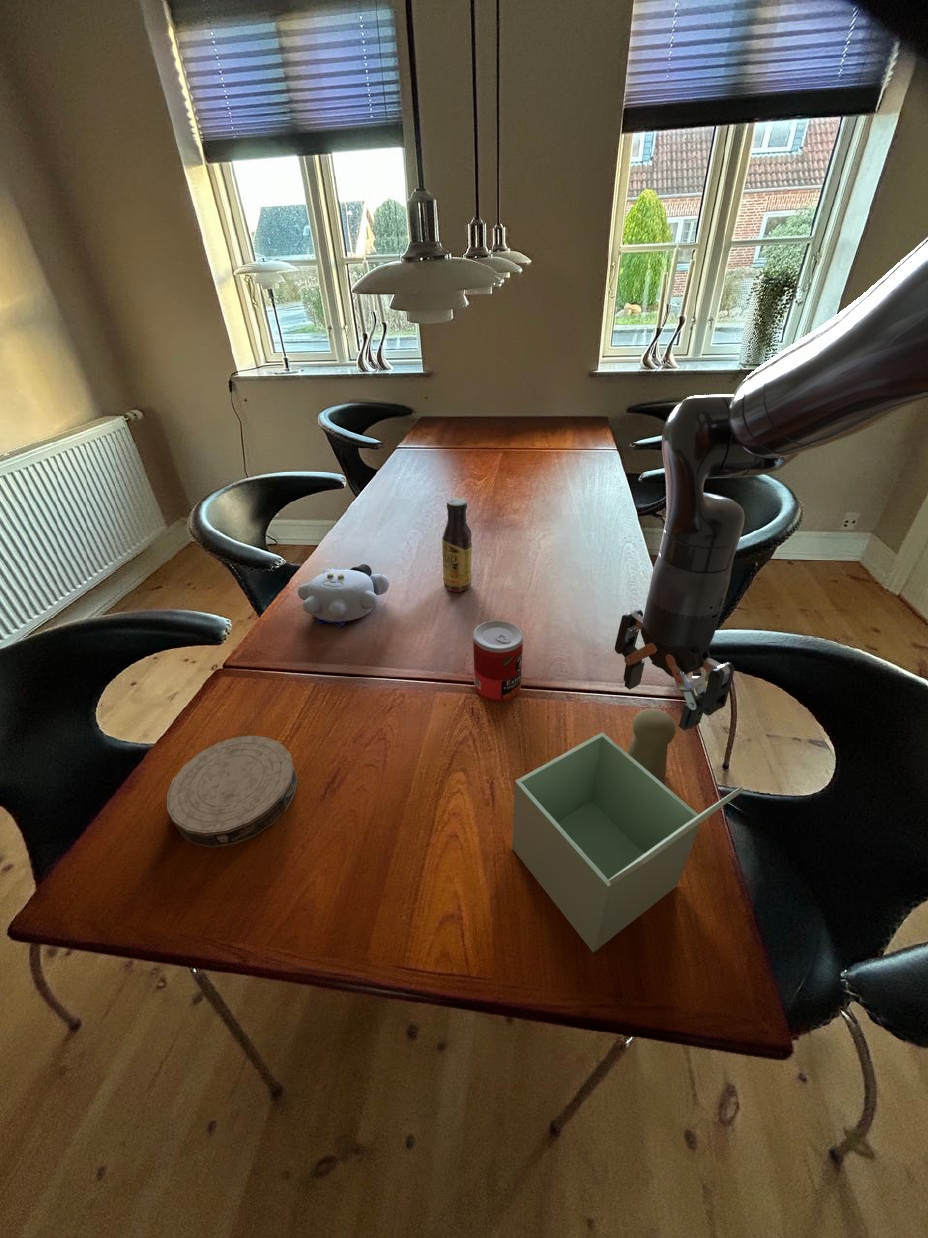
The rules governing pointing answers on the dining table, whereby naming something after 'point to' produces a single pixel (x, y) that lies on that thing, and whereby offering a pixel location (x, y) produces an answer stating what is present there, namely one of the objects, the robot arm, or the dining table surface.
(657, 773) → the olive brown pawn
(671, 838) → the flap
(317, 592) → the figurine
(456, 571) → the sauce bottle
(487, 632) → the canned food
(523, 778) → the carton
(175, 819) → the grey flat disc
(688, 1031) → the dining table surface
